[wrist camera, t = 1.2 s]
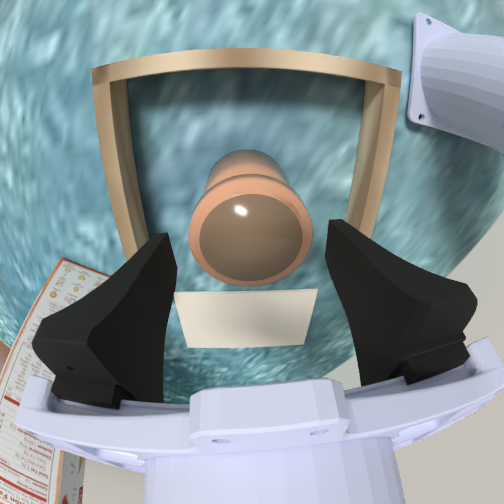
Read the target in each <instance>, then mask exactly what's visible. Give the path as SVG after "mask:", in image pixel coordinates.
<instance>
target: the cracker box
mask: <svg viewBox="0 0 504 504" xmlns="http://www.w3.org/2000/svg"><path fill="white" fill-rule="evenodd" d="M109 277H110V276H108V275H105V274H102V273H99V272H97V271H94V270H91V269H89V268H86V267H84V266H81V265H79V264H76V263H74V262H71V261H69V260H66V259H64V258H61V259H60V261H59V262H58V264H57V266H56V267H55V269H54V270H53V272H52V273H51V275H50V277H49V279H48V280H47V282H46V283H45V285H44V287H43V288H42V290H41V292H40V293H39V295H38V297H37V299H36V301H35V302H34V304H33V306H32V308H31V310H30V312H29V314H28V316H27V318H26V319H25V321H24V323H23V325H22V327H21V329H20V331H19V334H18V336H17V338H16V340H15V342H14V344H13V346H12V349H11V351H10V353H9V356H8V358H7V361H6V363H5V365H4V368H3V370H2V373H1V376H0V504H82V493H83V479H84V469H85V461H86V458H84V457H81V456H77V455H74V454H72V453H69V452H66V451H63V450H60V449H57V448H55V447H52V446H50V445H48V444H46V443H45V442H43V441H41V440H39V439H38V438H36V437H34V436H33V435H31V434H29V433H28V432H26V431H25V430H23V429H22V428H20V427H19V426H17V425H16V424H15V420H16V416H17V413H18V409H19V406H20V402H21V399H22V396H23V393H24V390H25V387H26V384H27V381H28V378H29V375H35V376H39V377H43V378H47V379H49V380H51V381H53V382H54V379H55V376H56V375H54V374H53V373H52V372H51V370H50V369H49V368H48V367H47V366H46V365H45V364H44V363H43V362H42V361H41V360H40V359H39V358H38V357H37V355H36V354H35V352H34V350H33V348H32V340H33V338H34V336H35V334H36V331H37V329H38V327H39V325H40V323H41V321H42V319H43V318H45V317H47V316H49V315H51V314H53V313H56V312H58V311H60V310H62V309H64V308H65V307H67V306H69V305H71V304H72V303H74V302H76V301H77V300H79V299H81V298H82V297H84V296H85V295H87V294H88V293H89V292H91V291H92V290H94V289H95V288H97V287H98V286H99V285H101V284H102V283H103V282H104V281H106V280H107V279H108V278H109Z"/></svg>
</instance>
